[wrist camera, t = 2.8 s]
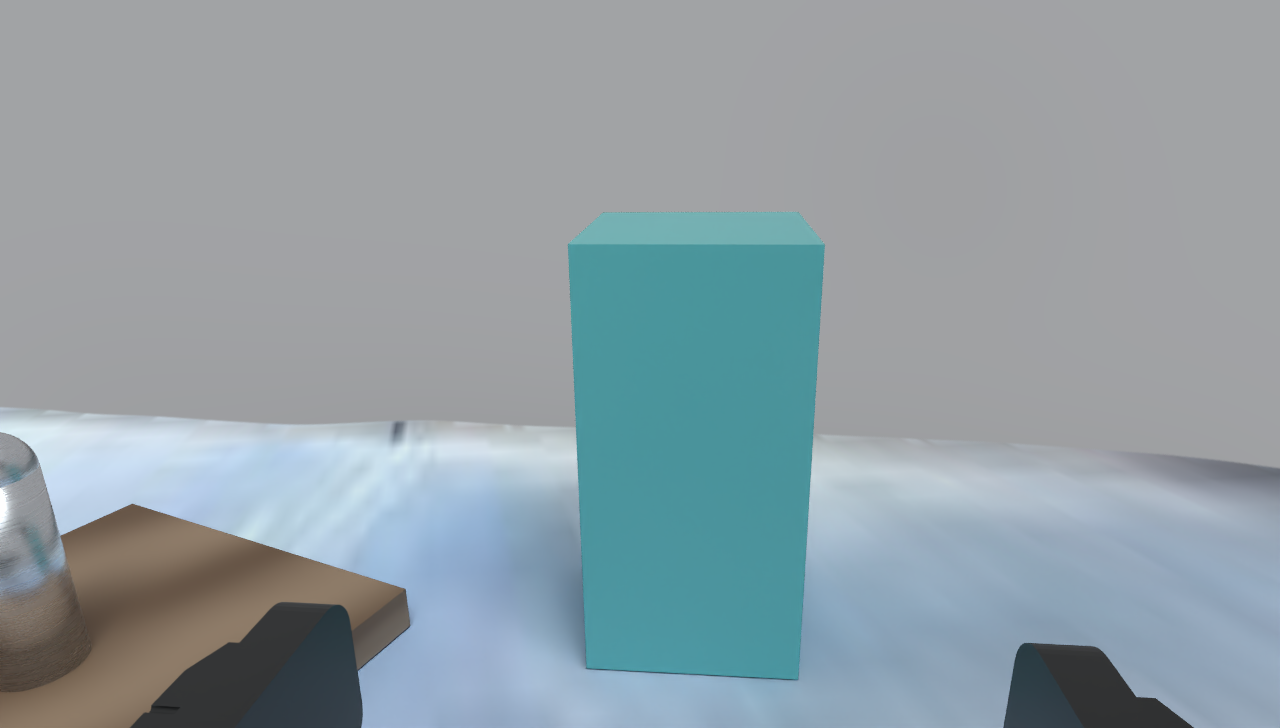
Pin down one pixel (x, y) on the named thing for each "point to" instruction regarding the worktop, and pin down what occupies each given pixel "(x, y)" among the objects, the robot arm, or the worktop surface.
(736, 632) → the block
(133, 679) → the base plate
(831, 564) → the worktop surface
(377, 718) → the worktop surface
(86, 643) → the post
